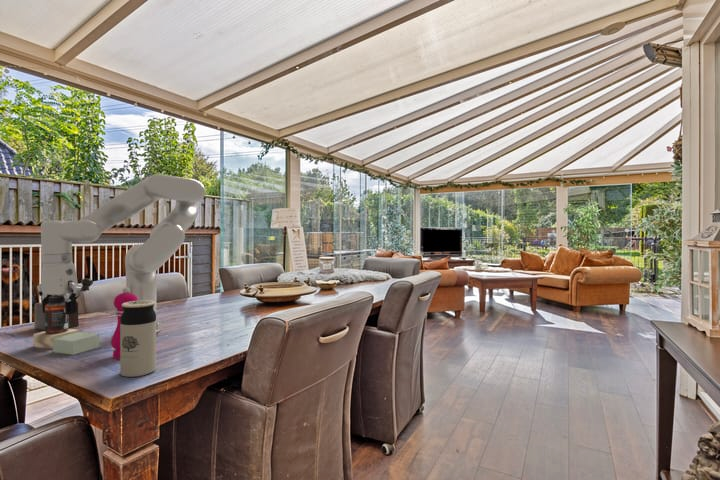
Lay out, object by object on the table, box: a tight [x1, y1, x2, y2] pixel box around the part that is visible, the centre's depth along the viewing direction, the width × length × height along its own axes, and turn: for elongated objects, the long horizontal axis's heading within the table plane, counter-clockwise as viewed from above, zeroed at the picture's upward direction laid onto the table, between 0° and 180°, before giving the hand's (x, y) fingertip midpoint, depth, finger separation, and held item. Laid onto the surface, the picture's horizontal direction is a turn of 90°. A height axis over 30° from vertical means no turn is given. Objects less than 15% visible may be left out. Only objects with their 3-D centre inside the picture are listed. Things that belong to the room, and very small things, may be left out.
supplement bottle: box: [45, 295, 70, 334], centre depth 120 cm, size 6×6×11 cm
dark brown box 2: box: [33, 277, 94, 332], centre depth 143 cm, size 16×11×18 cm
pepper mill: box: [110, 287, 138, 360], centre depth 110 cm, size 7×7×20 cm
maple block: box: [33, 328, 80, 350], centre depth 120 cm, size 8×8×4 cm
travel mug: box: [119, 300, 157, 378], centre depth 97 cm, size 8×8×18 cm
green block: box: [52, 331, 100, 356], centre depth 115 cm, size 8×8×4 cm
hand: (59, 312), depth 120 cm, fingers open, 9 cm apart
